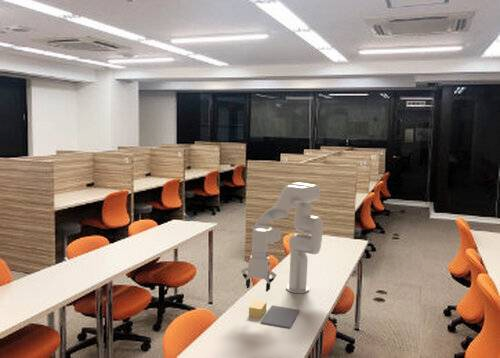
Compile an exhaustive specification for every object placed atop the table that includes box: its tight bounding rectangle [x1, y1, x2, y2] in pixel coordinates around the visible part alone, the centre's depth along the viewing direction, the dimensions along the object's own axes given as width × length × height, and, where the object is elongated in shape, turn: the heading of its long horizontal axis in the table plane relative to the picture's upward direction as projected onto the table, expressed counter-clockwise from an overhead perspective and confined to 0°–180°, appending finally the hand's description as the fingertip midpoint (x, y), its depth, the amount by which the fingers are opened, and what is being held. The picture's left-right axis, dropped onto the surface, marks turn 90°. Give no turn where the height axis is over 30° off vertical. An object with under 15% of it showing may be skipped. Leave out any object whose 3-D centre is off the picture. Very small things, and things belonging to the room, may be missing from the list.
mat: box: [260, 305, 300, 329], centre depth 216 cm, size 20×14×1 cm
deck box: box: [248, 300, 267, 319], centre depth 220 cm, size 9×6×4 cm, turn 162°
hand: (257, 289), depth 218 cm, fingers open, 9 cm apart
